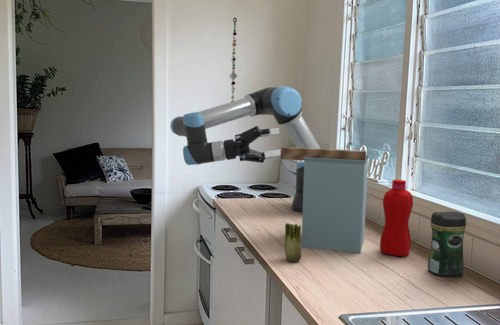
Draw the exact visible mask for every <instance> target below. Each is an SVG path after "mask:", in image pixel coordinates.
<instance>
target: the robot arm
mask: <svg viewBox="0 0 500 325" xmlns="http://www.w3.org/2000/svg"><path fill="white" fill-rule="evenodd" d="M302 102H303V101H302V97H301V95H300V93H299V92H298V91H297V90H296V89H295V88H292V87H289V86H278V87H272V86H271V87H270V86H269V87H265V88H263V89H259V90H257V91H254V92H251V93H248V94H246V95H244V97H243V98H240V99H237V100H233V101H230V102H227V103H224V104H220V105H217V106H215V107H210V108H207V109H203V110H201V111H197V112H195V111H194V112H189V113H188V112H187V113H185V114H183V116H180V115H179V116H176V117H174V118H172V120H171V121H170V129H171V132H172V133H173V134H175V135H177V136H179V137H184V138H185V137H186V143H187V144H186V145H185V146H183V148H182V153H183V159H184V162H185V164H186V165H187V166H193V165H194V166H195V165H198V166H199V165H202V164H208V163H215V162H221V161H225V160H227V161H229V160H230V161H231V160H235V159H236V158H237V157H239V161H240V162H244V161H245V162H253V163H261V164H263V163H264V162H265V160H266V159H272V158H278V157H281V148H280V149H274V150H273V149H272V150H266V151H263V152H260V151H258V150H255V149H252V148H250V144H252V143H253V142H254V141H255V140H257V139H259V138H266V137H275V136H279V135H280V128H279V127H275V128H262V129H261V128H260V127H259V126H258V125H256V126H254V127H251V128H250V129H247V130H245V131H243V132H240V133H239V134H235V135H234V139H233V138H230V139H225V140H218V141H217V140H216V141H212V142H208V138H207V132H206V130H207V129H210V128H213V127H217V126H219V125H223V124H227V123H230V122H232V121H235V120H238V119H242V118H244V117H248V116H249V117H251V118H253V117H256V116H263V115H265V116H266V115H268V116H273V118H274V120H275V121H276V122H277V124H278V125H279V126H283V127H284V129H285V131H286V132H287V134H288V135H289V137H290V138H291V140H292V143H293V144H294V145H295V147H296V148H317V149H321V147H320V145H319V143H318V141H317V140H316V139H315V136H314V134H313V133H312V131H311V130H310V128H309V126H308V124H307V122H306V120H304V118H303V116H302V114H303V108H302ZM295 170H296V173H295V174H296V175H295V176H296V178H295V194H294V197H293V199H292V202H291V210H292V211H296V212H299V213H301V212H302V213H303V187H304V161H298V162H297V164H296V169H295Z"/></svg>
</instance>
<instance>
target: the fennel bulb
mask: <svg viewBox="0 0 500 325" xmlns="http://www.w3.org/2000/svg"><path fill="white" fill-rule="evenodd" d="M284 226H285V228H284V229H285V231H284V232H285V234H284V255H285V258H286V260H287V261H288V262H290V263H297V262H299V261H301V259H302V255H303V254H302V247H301V244H302V242H301V234H302V225H298V224H297V223H294V224H293V223H290V222H286V223H285V225H284Z"/></svg>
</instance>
